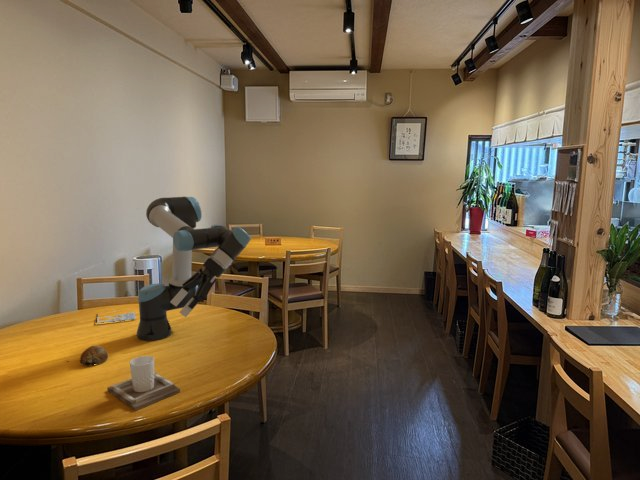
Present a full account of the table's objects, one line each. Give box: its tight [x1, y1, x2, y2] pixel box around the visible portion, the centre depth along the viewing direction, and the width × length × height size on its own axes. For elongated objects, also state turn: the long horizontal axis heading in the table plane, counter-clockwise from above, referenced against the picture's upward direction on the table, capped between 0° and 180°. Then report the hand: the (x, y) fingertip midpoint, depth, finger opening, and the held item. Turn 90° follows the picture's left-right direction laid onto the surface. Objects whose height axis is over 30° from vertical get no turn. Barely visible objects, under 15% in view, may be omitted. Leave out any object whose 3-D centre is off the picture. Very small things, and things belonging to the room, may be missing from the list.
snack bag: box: [96, 309, 136, 323], centre depth 231 cm, size 19×20×2 cm
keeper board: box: [106, 372, 181, 411], centre depth 153 cm, size 20×16×2 cm
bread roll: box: [79, 345, 109, 366], centre depth 178 cm, size 10×10×8 cm
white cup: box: [129, 355, 156, 392], centre depth 153 cm, size 8×8×10 cm
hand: (177, 309), depth 157 cm, fingers open, 13 cm apart
